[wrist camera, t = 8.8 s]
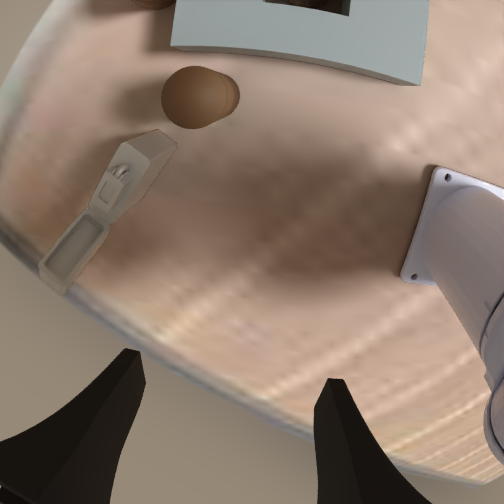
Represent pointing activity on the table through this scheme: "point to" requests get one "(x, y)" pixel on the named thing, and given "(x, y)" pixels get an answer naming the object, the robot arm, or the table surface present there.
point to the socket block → (312, 34)
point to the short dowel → (155, 3)
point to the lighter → (106, 206)
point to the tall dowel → (307, 3)
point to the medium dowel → (199, 97)
